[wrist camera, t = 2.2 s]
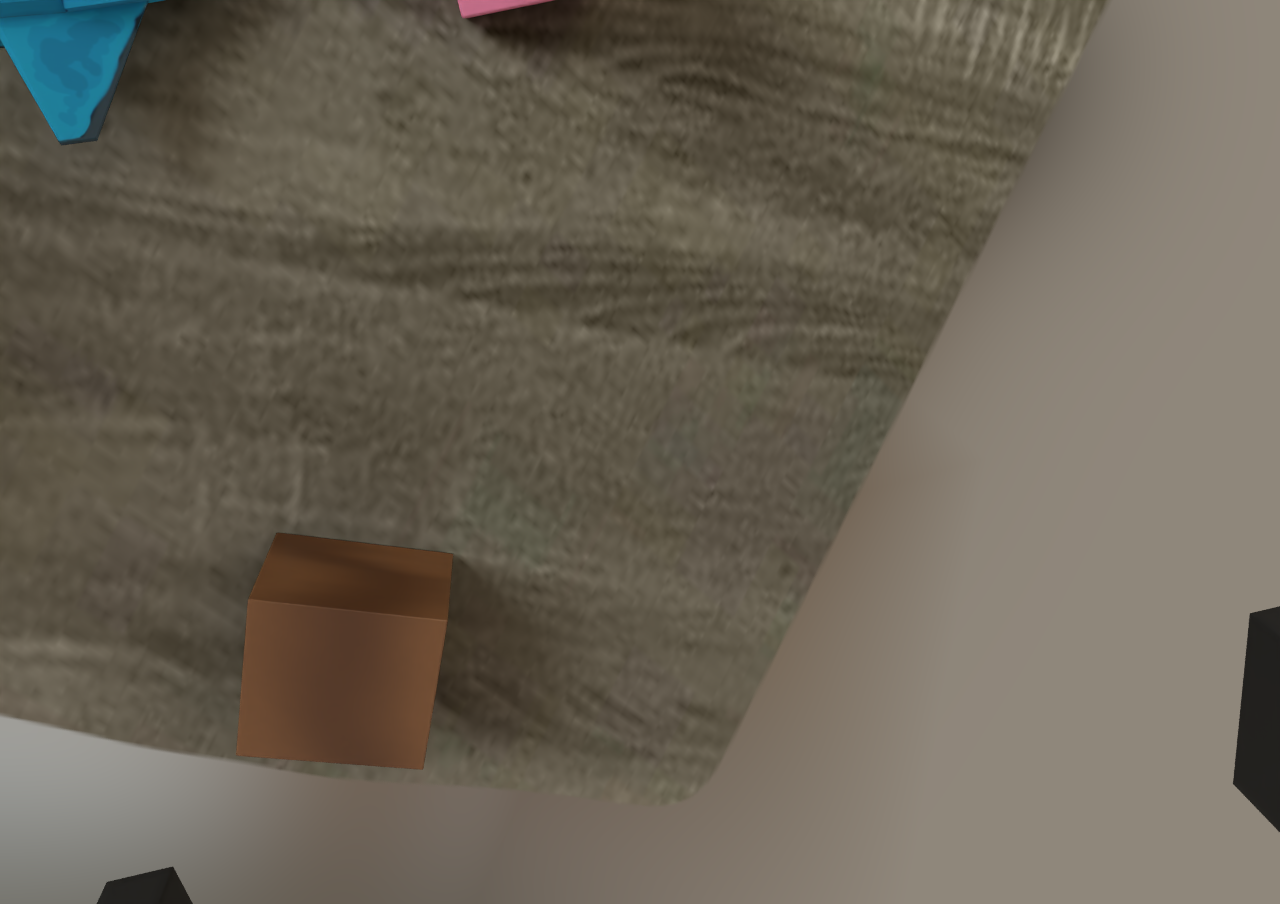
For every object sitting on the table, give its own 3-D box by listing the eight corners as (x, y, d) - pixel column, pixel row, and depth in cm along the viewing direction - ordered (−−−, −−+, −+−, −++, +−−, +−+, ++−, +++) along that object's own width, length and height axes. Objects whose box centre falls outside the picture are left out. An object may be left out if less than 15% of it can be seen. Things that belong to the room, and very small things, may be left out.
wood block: (264, 675, 41) (235, 756, 37) (276, 531, 39) (247, 599, 34) (430, 691, 43) (423, 770, 38) (453, 553, 40) (447, 620, 36)
